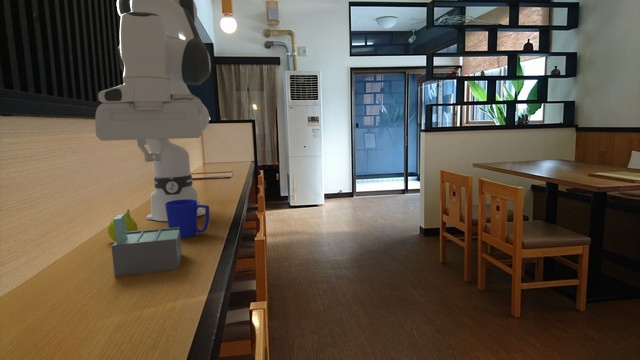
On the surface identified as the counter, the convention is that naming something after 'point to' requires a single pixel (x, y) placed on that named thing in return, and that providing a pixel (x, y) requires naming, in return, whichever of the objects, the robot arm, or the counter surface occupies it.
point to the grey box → (146, 255)
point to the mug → (185, 216)
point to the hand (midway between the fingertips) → (154, 161)
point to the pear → (130, 226)
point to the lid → (139, 237)
